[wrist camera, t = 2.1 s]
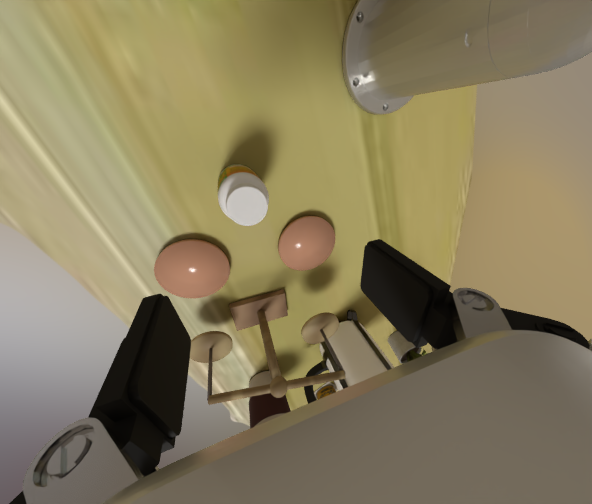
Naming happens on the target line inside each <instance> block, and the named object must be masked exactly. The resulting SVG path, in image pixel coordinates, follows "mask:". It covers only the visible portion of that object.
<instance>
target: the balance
mask: <svg viewBox="0 0 592 504" xmlns="http://www.w3.org/2000/svg"><path fill="white" fill-rule="evenodd" d="M229 306H230V311H231V314H232V317H233V320H234V323H235V326H236V329H237V331H238V330H242V329H245V328H248V327H251V326H255V325H258V324H260V329H261V334H262V338H263V343H264V347H265V352H266V356H267V361H268V366H269V370H270V375H271V379H272V381H271V383H270V384H267V385H262V386H257V387H251V388H246V389H241V390H235V391H230V392H225V393H220V394H214V395H212V362H214V361H218V360H220V359H222V358H224V357H225V356H227V355H228V354H229V353H230V351H231V350H232V339H231V337H230V336H229V335H228V334H226V333H224V332H220V331H210V332H205V333H202V334H200V335H198V336H196V337H195V338H194V339H193V340H192V341H191V350H190V358H191V359H192V360H194V361H197V362H201V363H209V370H208V398H207V400H208V404H209V405H210V404H215V403H221V402H226V401H231V400H236V399H242V398H247V397H252V396H257V395H262V394H267V393H271V394H272V395H273V396H274V397H276V398H280V397H283V396H284V395H285V394H286V392H287V390H288V389H293V388H299V387H304V386H309V385H314V384H319V383H325V382H330V381H335V380H340V379H345V378H346V377H345V374H346V373H345V371H344V369H343V367H342V365H341V363H340V361H339V360H338V358H337V356H336V354H335V352H334V350H333V348H332V346H331V344H330V343H329V341H328V339H329V338H330V337H331V336H333V335H334V334H335V332H336V331H337V329H338V327H339V321H338V319H337V317H336V316H335V315H334V314H332V313H320V314H317V315H315V316H313V317H312V318H310V319H309V320H308V321H307V322H306V323H305V324H304V326H303V328H302V331H301V334H302V337H303V339H304V341H305V342H307V343H310V344H317V343H321V342H323V341H325V342H326V344H327V346H328V348H329V350H330V352H331V353H332V355H333V357H334V359H335V361H336V363H337V365H338V367H339V369H340V371H336V372H331V373H325V374H320V375H315V376H310V377H304V378H299V379H294V380H288V381H286V380H285V379H284V378H283V377H282V376H281V372H280V369H279V365H278V361H277V357H276V353H275V350H274V346H273V342H272V338H271V334H270V330H269V327H268V323H267V322H268V321H271V320H274V319H278V318H281V317H284V316H287V315H288V313H287V306H286V298H285V292H284V290H283V289H281V290H278V291H274V292H271V293H267V294H263V295H260V296H256V297H252V298H249V299H245V300H241V301H238V302H234V303H230V304H229Z"/></svg>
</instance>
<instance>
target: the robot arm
mask: <svg viewBox="0 0 592 504" xmlns="http://www.w3.org/2000/svg"><path fill="white" fill-rule="evenodd" d="M591 52H592V0H358V2H357V3H356V5H355V6H354V9H353V11H352V13H351V15H350V18H349V20H348V24H347V27H346V31H345V35H344V41H343V49H342V65H343V74H344V78H345V83H346V86H347V88H348V91H349V93H350V95H351V97H352V98H353V100H354V101H355V103H356V104H357V105H358V106H359V107H360V108H361V109H363V110H365V111H366V112H368V113H372V114H387V113H391V112H394V111H396V110H398V109H400V108H401V107H403V106H404V105H405V104H406V103H407V102H408V101H410V100H411V99H412V97H413V96H414V95H419V94H425V93H430V92H436V91H442V90H448V89H453V88H459V87H465V86H471V85H477V84H482V83H488V82H493V81H500V80H505V79H511V78H516V77H522V76H528V75H533V74H538V73H542V72H547V71H551V70H554V69H557V68H560V67H562V66H565V65H567V64H570V63H572V62H574V61H576V60H578V59H581V58H583V57H584V56H586V55H588V54H589V53H591ZM353 83H354V84H353ZM450 287H451V286H450V285H448V284H447V283H445V282H444V281H442V280H441V279H439V278H438V277H436V276H435V275H433V274H432V273H430V272H429V271H427V270H426V269H424V268H423V267H421V266H420V265H418V264H417V263H415V262H414V261H412V260H411V259H409V258H408V257H406V256H405V255H403V254H402V253H400V252H399V251H397V250H396V249H394V248H393V247H391V246H390V245H388V244H387V243H385V242H384V241H382V240H380V239H378V240H374V241H370V242H368V243H367V245H366V246H365V250H364V259H363V268H362V276H361V289H362V291H363V293H364V294H365V295H366V296H367V297H368V298H369V299H370V300H371V301H372V302H373V304H374V305H375V306H376V307H377V308H378V309H379V310H380V311H381V312H382V314H383V315H384V316H385V317H386V318H387V319H388V320H389V321H390V322H391V324H392V325H393V326H394V327H395V328H396V329H397V330H398V331H399V332H400V333H401V335H402V336H403V337H404V338H405V339H406V340H407V341H408V342H412V343H413V344H414V346H415V347H416V348H419V347H422V346H424V345H427V343H429V344H430V345H431V346H432V352H431V353H428V354H426V355H424V356H421V357H419V358H416V359H414V360H412V361H409V362H407V363H404V364H402V365H400V366H397V367H395V368H392V369H390V370H388V371H385V372H383V373H380V374H378V375H376V376H373V377H371V378H368V379H366V380H364V381H361V382H359V383H357V384H354V385H352V386H349V387H347V388H345V389H342V390H340V391H338V392H335V393H333V394H330V395H328V396H326V397H323V398H321V399H319V400H316V401H314V402H311V403H309V404H307V405H304V406H302V407H300V408H297V409H295V410H293V411H290V412H288V413H286V414H283V415H281V416H279V417H276V418H274V419H272V420H269V421H267V422H265V423H262V424H260V425H258V426H255V427H253V428H251V429H248V430H246V431H244V432H241V433H239V434H237V435H234V436H232V437H230V438H227V439H225V440H223V441H221V442H218V443H216V444H214V445H212V446H209V447H207V448H205V449H203V450H200V451H198V452H196V453H194V454H191V455H189V456H187V457H185V458H183V459H180V460H178V461H176V462H174V463H171V464H170V465H167V466H166V467H164V468H162V469H159V468H158V466H157V465H158V464H159V461H160V456H161V453H162V452H165V451H167V450H170V449H172V448H174V445H175V437H176V436H177V435H179V434H180V432H181V426H182V418H183V410H184V401H185V392H186V383H187V376H188V367H189V359H190V350H191V339H190V336H189V334H188V332H187V331H186V329H185V327H184V325H183V323H182V321H181V320H180V318H179V316H178V314H177V312H176V310H175V309H174V307H173V305H172V303H171V301H170V299H169V298H168V296H163V295H162V294H157V295H153V296H149V297H145V298H143V300H142V302H141V304H140V306H139V309H138V311H137V313H136V316H135V318H134V320H133V322H132V325H131V327H130V329H129V332H128V334H127V336H126V338H124V340H123V341H122V343H121V345H120V348H119V350H118V352H117V354H116V356H115V359H114V361H113V363H112V365H111V368H110V370H109V372H108V374H107V377H106V379H105V381H104V383H103V386H102V388H101V390H100V392H99V395H98V397H97V399H96V401H95V403H94V406H93V408H92V410H91V412H90V415H89V417H88V418H85V419H81V420H78V421H76V422H74V423H73V424H71V425H69V426H67V427H66V428H64V429H63V430H62V431H60V432H59V433H58V434H56V435H55V436H54V437H53V438H52V439H51V440H50V441H49V442H48V443H47V444H46V445H45V446H44V447H43V448H42V449H41V451H40V452H39V453H38V454H37V455H36V457H35V458H34V460H33V462H32V463H31V465H30V467H29V468H28V469H27V472H26V475H25V478H24V480H23V491H22V492H21V493H20V494H19V495H18V496H17V497H16V498H15V499H14V500H13V501H12V502H11V503H9V504H592V339H590V340H589V341H587V340H586V339H585V338H584V337H583V335H581V334H580V333H578V332H577V331H576V330H574V329H573V328H571V327H570V326H568V325H566V324H564V323H561V322H558V321H555V320H552V319H548V318H544V317H539V316H535V315H530V314H526V313H521V312H517V311H513V310H508V309H504V308H500V306H499V304H498V303H497V302H496V301H495V300H494V299H493V298H492V297H490V296H489V295H487V294H485V293H483V292H481V291H478V290H475V289H471V288H458V289H456V290H455V291H454V292H453V293H451V292H450V291H449V289H450Z"/></svg>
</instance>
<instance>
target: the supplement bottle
mask: <svg viewBox="0 0 592 504" xmlns="http://www.w3.org/2000/svg"><path fill="white" fill-rule="evenodd" d="M218 201H219V205H220V207H221V209H222V211H223V212H224V213H225V214H226V215H227V216H228V217H229V218H231V219H232V220H233V221H235V222H236V223H238V224H240V225H244V226H251V225H255V224H257V223H259V222H260V221H261V220H262V219H263V218H264V217H265V215H266V213H267V210H268V202H269V195H268V191H267V188H266V186H265V185H264V183H263V182H262V180H261V179H260V178H259V177H258V176H257V175H256V174H255V172H254V171H253V170H252V169H250V168H249V167H247V166H245V165H241V164H234V165H230V166H228V167H226V168H225V169H224V170H223V171H222V172H221V174H220V176H219V179H218Z"/></svg>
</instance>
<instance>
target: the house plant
mask: <svg viewBox="0 0 592 504" xmlns="http://www.w3.org/2000/svg"><path fill="white" fill-rule="evenodd" d="M388 343H389V344H390V346H391V348H392V349H393V351H394V353H395V355H396V356H397V358H398V360H399V361H400V363H402V364H403V363H407V362H409V361H412V360H414V359H416V358H419V357H421V354H419V353H420V352H421V347H419V348H416V347H415V346H414V344H413V343H412V342H408V341H407V340H406V339H405V338H404V337H403V336H402V335H401V333H400V332H399V331H396V332H394V333H393V334H391V335H390V336H389V338H388ZM423 349H424V348H423ZM426 354H427V353H426V351H425V350H423V353H422V355H423V356H424V355H426Z"/></svg>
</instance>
